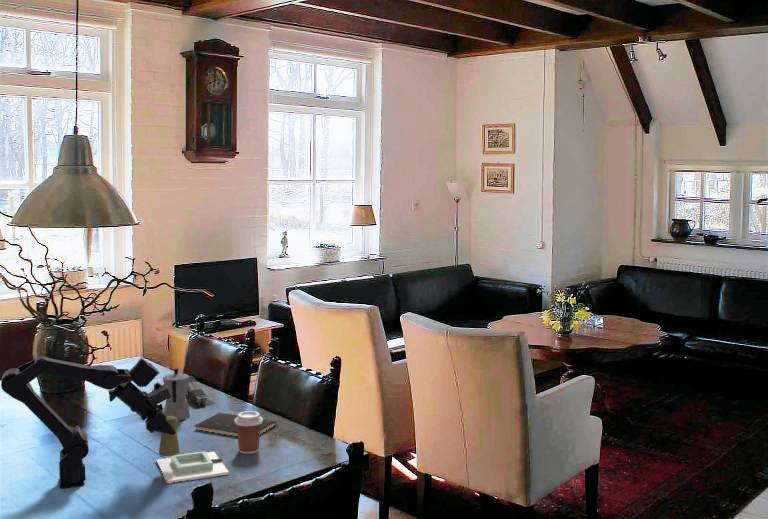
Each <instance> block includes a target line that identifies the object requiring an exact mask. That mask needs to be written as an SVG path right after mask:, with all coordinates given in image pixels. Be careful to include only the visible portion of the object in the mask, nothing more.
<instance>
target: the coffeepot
mask: <svg viewBox="0 0 768 519" xmlns="http://www.w3.org/2000/svg"><path fill="white" fill-rule="evenodd" d="M173 372H174V373H169V374H166V375H164V376H162V381H163V384H164V385H166V386H167V388H168V390H169V391H170V393H171V395H172V397H171V398H170V399H166V400H165V405H164V409H163V412H164V413H166V415H167V416H174V417H176V418H177V420H181V421H184V420H183V419H185V420H187V419H189V417H190V416H191V415H190V409H189V405H188V403H189V402H188V400H187V395H188V394H187V391H188V384H189V377H190V376H191V375H188V374H187V373H181V372H179V368H173ZM186 418H187V419H186Z"/></svg>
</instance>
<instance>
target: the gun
mask: <svg viewBox="0 0 768 519" xmlns="http://www.w3.org/2000/svg"><path fill="white" fill-rule="evenodd" d="M189 376H190V377H189V384H188V391H187V394H186V395H188V397H189V398H191V399H192V401H193V402H194V404H196V405H197V406H204V405H205V404H206V403H207V402H208V396H207V395H206V393H205V391H204V390H203V389H202V388H201V386H200V385H199V384H198V382H197V380H196V378H195V377H194V376H193V375H189Z"/></svg>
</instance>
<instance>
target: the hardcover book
mask: <svg viewBox="0 0 768 519" xmlns="http://www.w3.org/2000/svg"><path fill="white" fill-rule="evenodd" d="M237 417H238V414H232V413H225V412H217V413H216V414H214V415H211V416H210V417H208V418H206V419H204V420H202V421H201V422H199V423H196V424H194V425H193V426H194V427H195V430H196V429H198V430H197V431H199V430H203V431H202V432H205V431H209V432H208V433H211V432H215V433H214V434H217V433H221V434H220V435H223V434H227V435H226V436H229V435H233V436H232V437H235V436H238V434H237V425H236V424H235V422H234V420H235V419H236V418H237ZM274 425H277V421H276V420H270V419H265V418H264V419H263V422H262V423H261V428H260V434H261V433H262V434H264V433H265V432H267V431H269V430H270V429H272V428H274V427H275V426H274ZM273 426H274V427H273ZM271 427H272V428H271ZM269 428H270V429H269ZM268 429H269V430H268ZM266 430H267V431H266ZM263 432H264V433H263ZM262 434H261V435H262Z"/></svg>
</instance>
